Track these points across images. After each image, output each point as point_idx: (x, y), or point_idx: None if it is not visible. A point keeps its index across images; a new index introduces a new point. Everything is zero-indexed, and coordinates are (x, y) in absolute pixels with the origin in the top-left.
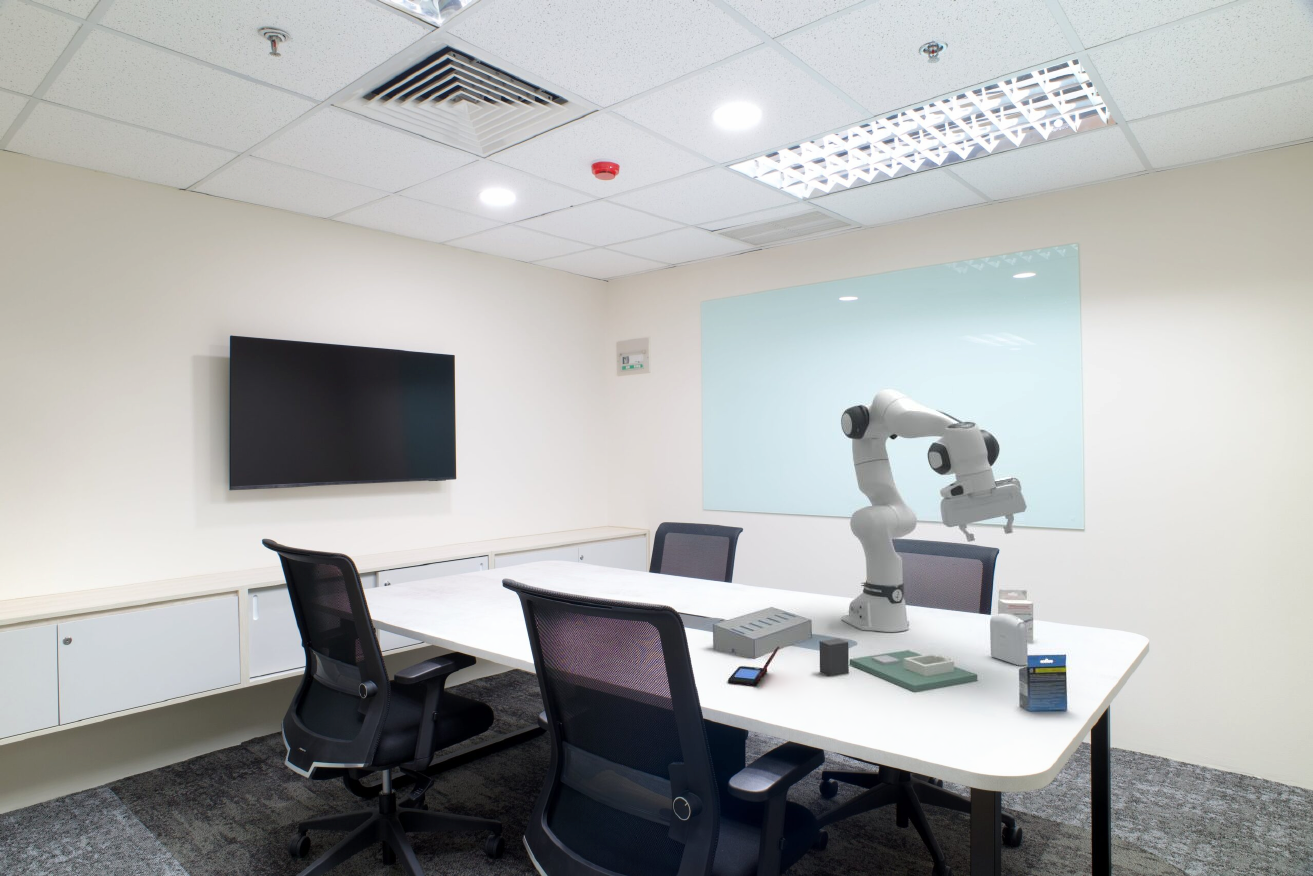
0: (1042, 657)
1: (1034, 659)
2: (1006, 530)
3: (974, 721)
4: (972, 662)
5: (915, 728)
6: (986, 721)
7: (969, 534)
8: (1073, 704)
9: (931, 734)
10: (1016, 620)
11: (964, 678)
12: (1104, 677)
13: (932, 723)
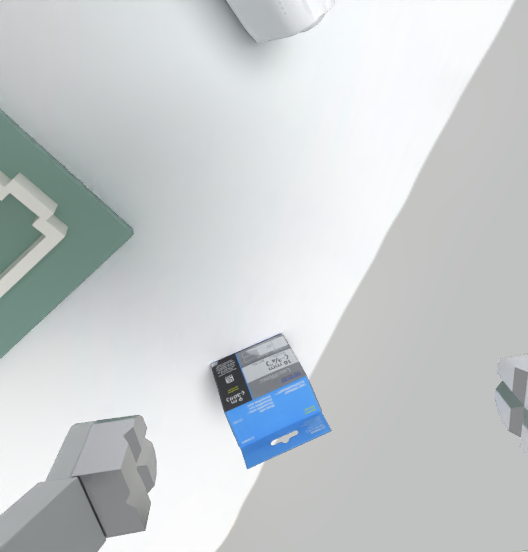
0: (278, 450)
1: (259, 455)
2: (521, 425)
3: None
4: (120, 30)
5: None
6: None
7: (98, 543)
8: (311, 317)
9: None
10: (304, 11)
11: (99, 265)
12: (439, 98)
13: None
